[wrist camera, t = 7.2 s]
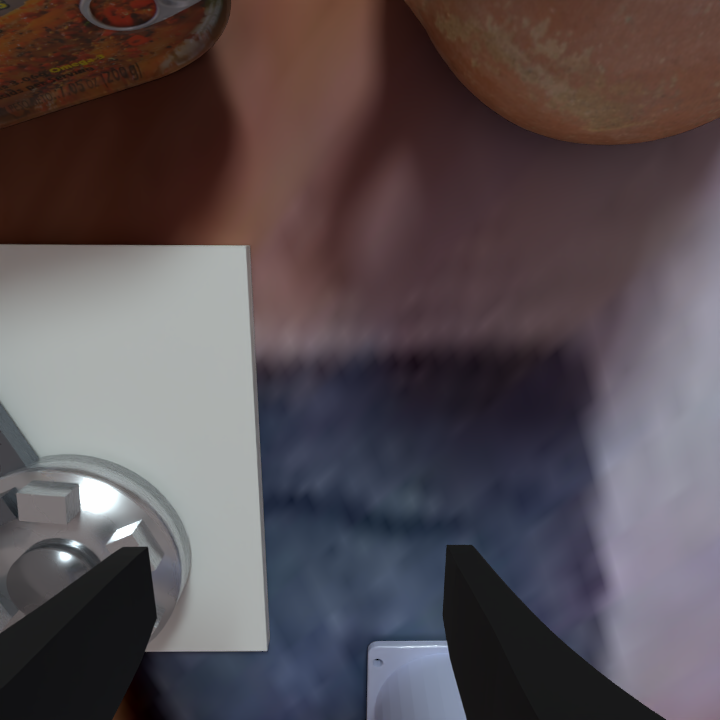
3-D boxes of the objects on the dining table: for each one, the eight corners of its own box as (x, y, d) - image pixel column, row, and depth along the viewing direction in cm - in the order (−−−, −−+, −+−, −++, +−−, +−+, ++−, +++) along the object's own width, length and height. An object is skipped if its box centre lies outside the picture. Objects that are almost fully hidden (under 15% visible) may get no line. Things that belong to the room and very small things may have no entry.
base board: (269, 637, 25) (266, 652, 24) (-88, 639, 24) (-104, 654, 24) (249, 245, 20) (245, 246, 19) (-203, 242, 19) (-229, 243, 18)
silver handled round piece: (228, 593, 23) (203, 665, 19) (53, 663, 24) (-3, 746, 20) (29, 280, 19) (-52, 292, 15) (-170, 379, 20) (-294, 414, 16)
